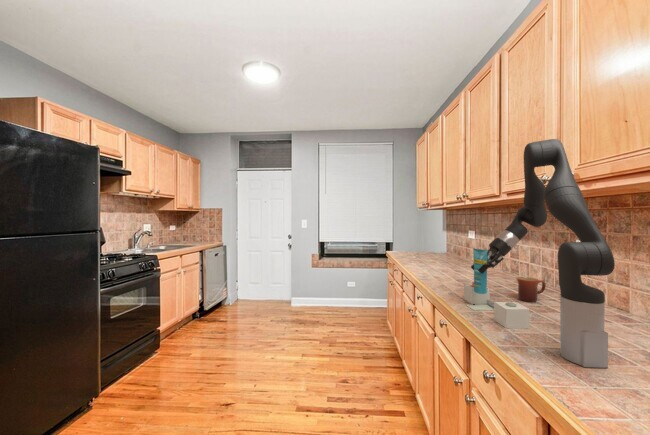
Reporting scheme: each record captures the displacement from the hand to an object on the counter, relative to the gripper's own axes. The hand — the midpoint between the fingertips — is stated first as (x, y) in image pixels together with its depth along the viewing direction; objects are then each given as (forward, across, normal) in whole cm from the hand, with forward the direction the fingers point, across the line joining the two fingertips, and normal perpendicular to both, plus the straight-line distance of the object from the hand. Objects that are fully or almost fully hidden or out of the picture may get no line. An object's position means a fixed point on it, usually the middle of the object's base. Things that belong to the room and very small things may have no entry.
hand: (476, 270), depth 122 cm
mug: (-10, -11, +34) cm, 37 cm away
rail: (+6, +5, +17) cm, 19 cm away
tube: (+6, 0, +8) cm, 10 cm away
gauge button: (+5, -8, +11) cm, 15 cm away
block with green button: (+9, +18, +14) cm, 25 cm away
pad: (+11, 0, +13) cm, 17 cm away
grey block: (+9, -8, +14) cm, 19 cm away
